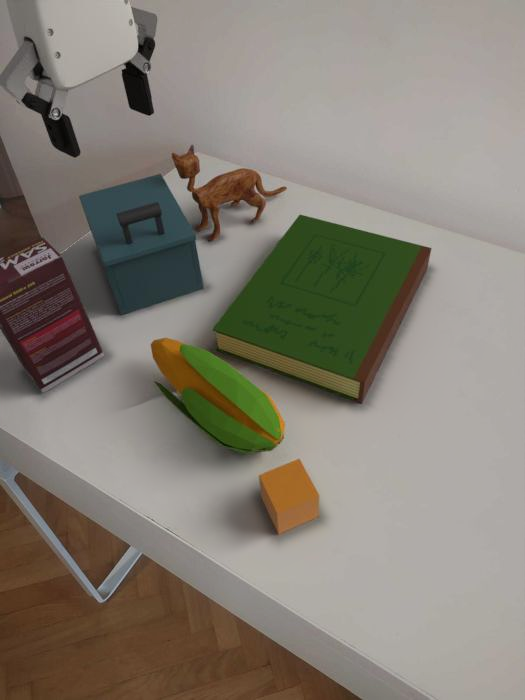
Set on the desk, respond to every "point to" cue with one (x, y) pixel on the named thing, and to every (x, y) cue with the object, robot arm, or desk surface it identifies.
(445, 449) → the desk surface
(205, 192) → the cat figurine
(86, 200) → the lid
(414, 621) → the desk surface
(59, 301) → the supplement box
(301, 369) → the book
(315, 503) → the cheese block
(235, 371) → the corn
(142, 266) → the box
